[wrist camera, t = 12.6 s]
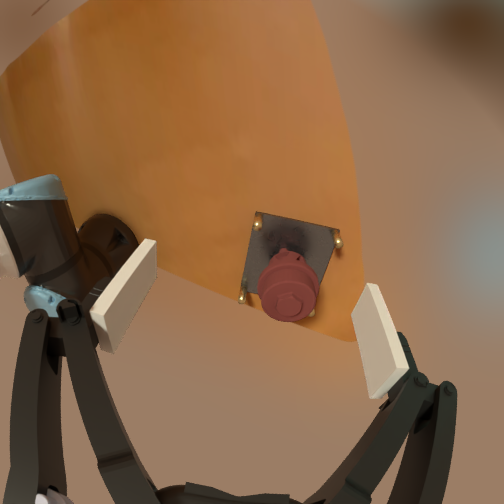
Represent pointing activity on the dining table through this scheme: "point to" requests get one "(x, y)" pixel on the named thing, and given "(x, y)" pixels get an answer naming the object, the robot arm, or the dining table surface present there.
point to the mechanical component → (288, 287)
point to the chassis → (293, 239)
